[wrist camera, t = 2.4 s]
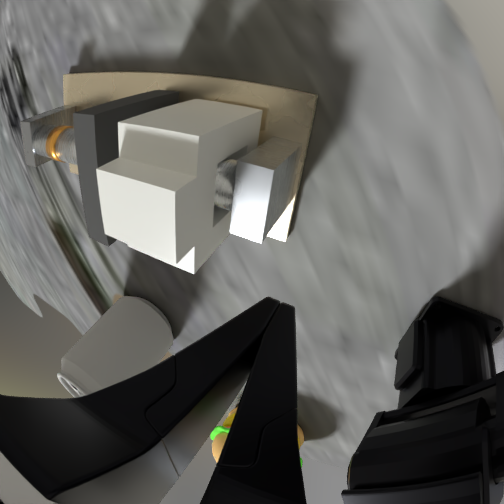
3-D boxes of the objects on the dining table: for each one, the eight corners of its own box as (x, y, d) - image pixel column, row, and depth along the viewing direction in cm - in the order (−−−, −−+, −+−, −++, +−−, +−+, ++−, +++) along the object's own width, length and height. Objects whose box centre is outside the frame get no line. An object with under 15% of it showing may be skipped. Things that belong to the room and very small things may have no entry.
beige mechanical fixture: (318, 95, 14) (289, 106, 10) (288, 237, 20) (256, 288, 16) (68, 73, 19) (16, 88, 15) (75, 169, 25) (30, 194, 21)
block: (179, 91, 16) (94, 115, 11) (175, 196, 20) (108, 246, 15) (158, 89, 16) (72, 113, 12) (157, 190, 21) (89, 237, 16)
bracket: (262, 110, 15) (175, 146, 9) (247, 214, 19) (177, 293, 13) (196, 98, 16) (93, 131, 10) (191, 196, 20) (110, 261, 14)
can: (137, 280, 29) (54, 366, 20) (190, 334, 31) (122, 427, 22) (114, 303, 34) (47, 374, 25) (158, 348, 35) (100, 423, 26)
